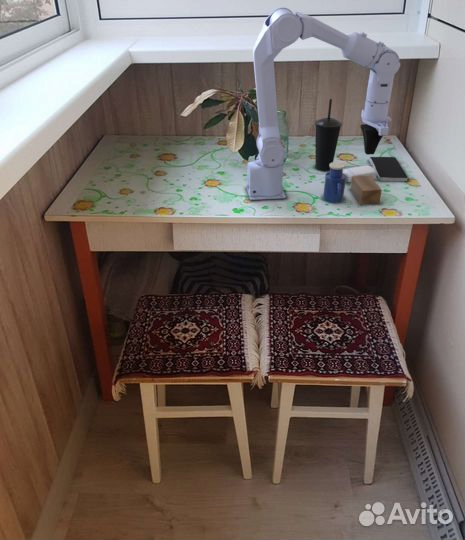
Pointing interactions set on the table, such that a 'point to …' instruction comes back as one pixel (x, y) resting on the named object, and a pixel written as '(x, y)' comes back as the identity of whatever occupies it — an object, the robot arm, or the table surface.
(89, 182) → the table surface
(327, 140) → the drinking cup
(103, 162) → the table surface
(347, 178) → the eye dropper bottle
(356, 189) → the oak block
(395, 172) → the smartphone
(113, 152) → the table surface
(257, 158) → the robot arm
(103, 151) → the table surface
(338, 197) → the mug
